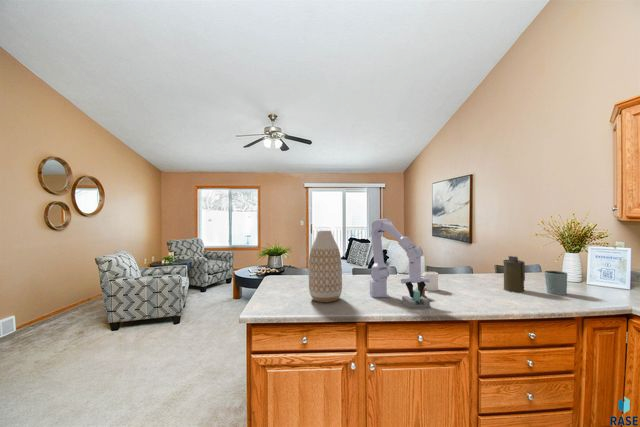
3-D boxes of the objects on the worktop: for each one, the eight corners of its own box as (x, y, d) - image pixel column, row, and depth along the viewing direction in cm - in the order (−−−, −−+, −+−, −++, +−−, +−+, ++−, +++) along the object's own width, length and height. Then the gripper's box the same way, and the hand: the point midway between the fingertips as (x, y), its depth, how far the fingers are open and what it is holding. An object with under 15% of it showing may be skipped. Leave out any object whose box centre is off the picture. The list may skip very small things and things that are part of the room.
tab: (416, 305, 143) (416, 293, 143) (411, 301, 150) (411, 289, 150) (422, 305, 143) (422, 293, 143) (416, 300, 150) (416, 289, 150)
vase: (340, 305, 149) (338, 232, 149) (305, 303, 153) (304, 232, 153) (344, 295, 167) (343, 229, 167) (313, 294, 171) (312, 230, 171)
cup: (440, 291, 172) (440, 274, 172) (420, 291, 172) (419, 274, 172) (435, 287, 180) (434, 271, 180) (415, 287, 180) (415, 271, 180)
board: (409, 308, 143) (409, 302, 143) (402, 302, 153) (402, 296, 153) (429, 307, 144) (429, 301, 144) (421, 301, 154) (421, 295, 154)
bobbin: (418, 299, 157) (418, 290, 157) (414, 296, 163) (413, 287, 163) (429, 299, 157) (428, 289, 157) (424, 295, 163) (424, 287, 163)
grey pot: (568, 296, 157) (568, 274, 157) (544, 294, 163) (544, 272, 163) (567, 292, 165) (566, 271, 165) (544, 289, 171) (544, 269, 171)
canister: (499, 289, 174) (499, 256, 174) (510, 287, 178) (509, 254, 178) (518, 293, 164) (517, 258, 164) (529, 291, 168) (528, 257, 168)
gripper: (404, 272, 144) (404, 299, 144) (432, 271, 145) (432, 298, 145) (399, 269, 151) (399, 295, 151) (426, 268, 152) (426, 294, 152)
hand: (415, 296), depth 148 cm, fingers open, 4 cm apart
